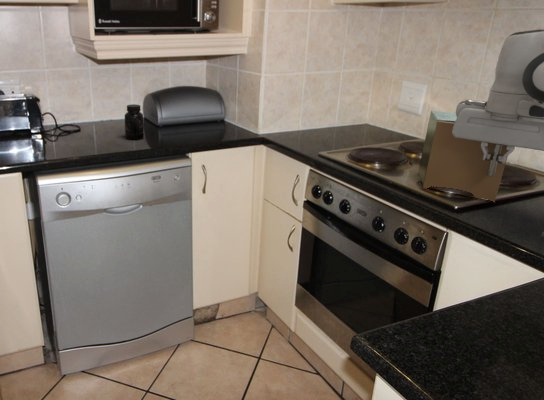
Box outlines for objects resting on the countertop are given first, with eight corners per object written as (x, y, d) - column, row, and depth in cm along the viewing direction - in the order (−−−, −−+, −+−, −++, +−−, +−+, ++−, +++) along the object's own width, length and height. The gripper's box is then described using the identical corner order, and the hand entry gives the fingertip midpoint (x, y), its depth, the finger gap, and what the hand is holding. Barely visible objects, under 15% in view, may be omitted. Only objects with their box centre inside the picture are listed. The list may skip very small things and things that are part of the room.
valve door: (493, 209, 118) (514, 135, 111) (419, 194, 127) (434, 125, 120) (494, 201, 123) (515, 130, 116) (423, 187, 132) (438, 120, 125)
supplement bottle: (139, 134, 181) (139, 103, 176) (146, 139, 175) (145, 106, 170) (122, 136, 178) (121, 104, 173) (128, 141, 172) (127, 108, 168)
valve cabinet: (492, 195, 127) (511, 125, 120) (422, 187, 132) (437, 119, 125) (481, 180, 138) (499, 115, 131) (417, 173, 143) (431, 110, 135)
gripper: (455, 100, 114) (443, 156, 119) (562, 112, 102) (543, 173, 107) (461, 96, 118) (449, 150, 123) (563, 107, 106) (545, 166, 111)
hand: (493, 161), depth 115 cm, fingers closed, pressing on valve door
